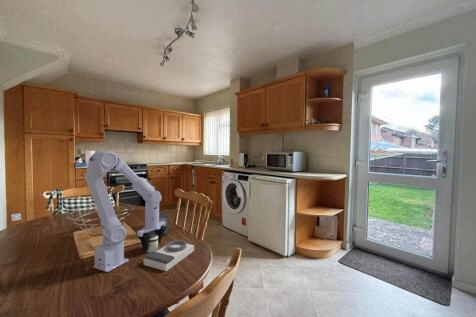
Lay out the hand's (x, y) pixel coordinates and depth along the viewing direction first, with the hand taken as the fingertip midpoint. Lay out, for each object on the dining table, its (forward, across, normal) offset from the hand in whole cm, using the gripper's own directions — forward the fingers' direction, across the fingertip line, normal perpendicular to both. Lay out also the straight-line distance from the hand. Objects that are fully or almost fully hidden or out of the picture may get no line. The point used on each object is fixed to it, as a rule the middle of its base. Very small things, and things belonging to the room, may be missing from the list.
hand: (152, 246), depth 96 cm
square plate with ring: (+1, -2, -12) cm, 12 cm away
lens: (+2, 0, 0) cm, 2 cm away
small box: (+2, +15, +11) cm, 19 cm away
